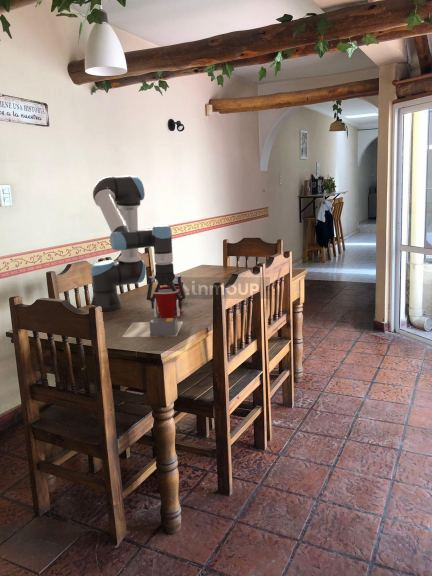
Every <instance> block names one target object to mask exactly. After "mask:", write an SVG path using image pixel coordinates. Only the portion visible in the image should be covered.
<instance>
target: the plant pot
mask: <svg viewBox="0 0 432 576" xmlns="http://www.w3.org/2000/svg"><path fill="white" fill-rule="evenodd" d="M175 287H176V289H177V290H179V291H178V292H179V294H180V296H181V292H180V289H179V286H175ZM162 289H171V287H170V286H167V285H164V286H160V288H159V290H162ZM177 300H178V299H177V298H176V301H177ZM182 311H183V306H182V307H181V308H180V313H181V312H182ZM157 313H159V310H158V309H157ZM175 315H177V304H176V307H175Z"/></svg>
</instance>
